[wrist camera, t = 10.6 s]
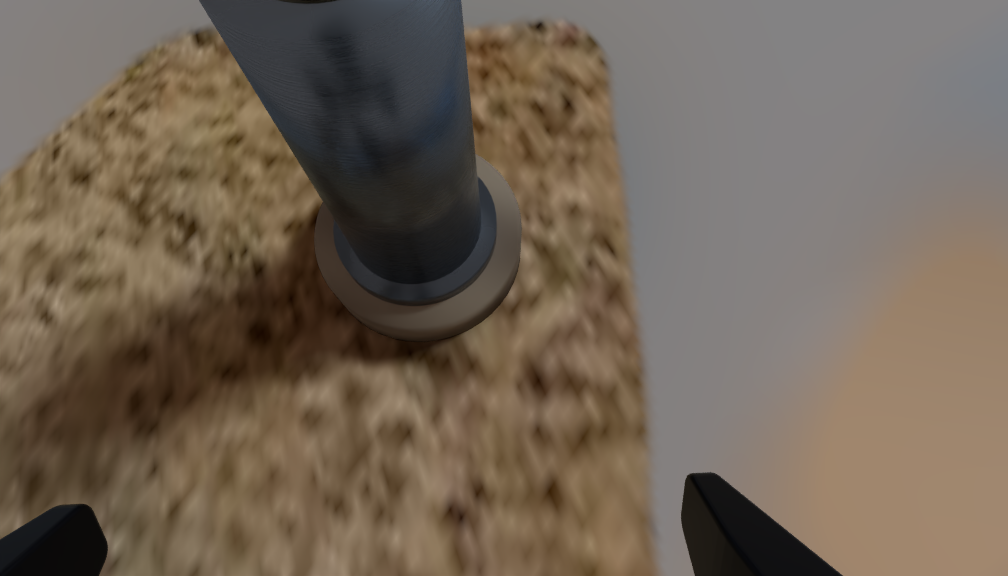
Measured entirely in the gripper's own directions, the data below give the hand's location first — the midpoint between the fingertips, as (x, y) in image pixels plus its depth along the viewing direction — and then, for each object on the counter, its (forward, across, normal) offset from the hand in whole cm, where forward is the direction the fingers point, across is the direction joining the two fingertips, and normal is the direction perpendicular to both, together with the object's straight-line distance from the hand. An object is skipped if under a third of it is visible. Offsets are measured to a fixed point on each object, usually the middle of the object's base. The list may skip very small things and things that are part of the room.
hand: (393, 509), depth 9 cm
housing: (+16, +1, +1) cm, 16 cm away
